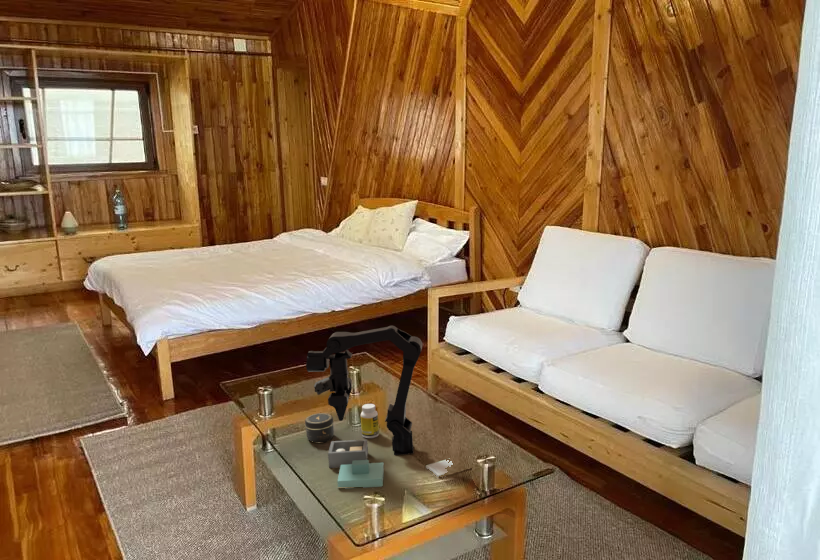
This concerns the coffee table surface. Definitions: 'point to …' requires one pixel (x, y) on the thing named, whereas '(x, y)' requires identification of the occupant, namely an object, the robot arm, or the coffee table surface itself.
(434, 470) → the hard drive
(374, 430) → the pill bottle
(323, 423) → the jar
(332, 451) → the storage box
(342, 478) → the lid
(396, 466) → the coffee table surface
